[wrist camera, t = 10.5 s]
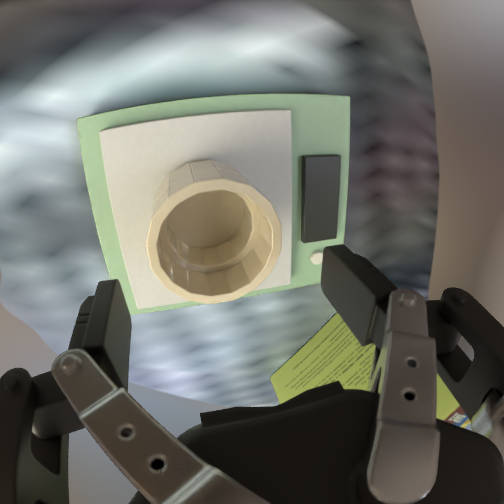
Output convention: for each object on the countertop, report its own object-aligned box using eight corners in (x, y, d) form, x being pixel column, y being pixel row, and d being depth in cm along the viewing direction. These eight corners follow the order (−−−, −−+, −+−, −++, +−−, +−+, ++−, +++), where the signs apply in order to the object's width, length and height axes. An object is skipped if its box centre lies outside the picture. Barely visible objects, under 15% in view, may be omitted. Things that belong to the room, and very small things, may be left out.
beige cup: (145, 167, 16) (135, 191, 12) (253, 153, 17) (281, 172, 13) (161, 263, 19) (161, 312, 15) (257, 249, 20) (281, 291, 16)
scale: (86, 116, 17) (72, 119, 14) (333, 95, 20) (357, 96, 17) (125, 297, 23) (121, 323, 20) (327, 264, 26) (344, 284, 24)
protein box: (266, 377, 31) (317, 506, 18) (371, 272, 28) (479, 386, 15) (324, 396, 36) (375, 494, 23) (412, 312, 33) (493, 401, 20)
